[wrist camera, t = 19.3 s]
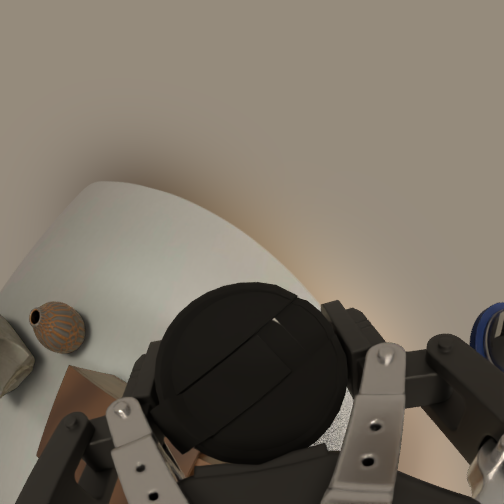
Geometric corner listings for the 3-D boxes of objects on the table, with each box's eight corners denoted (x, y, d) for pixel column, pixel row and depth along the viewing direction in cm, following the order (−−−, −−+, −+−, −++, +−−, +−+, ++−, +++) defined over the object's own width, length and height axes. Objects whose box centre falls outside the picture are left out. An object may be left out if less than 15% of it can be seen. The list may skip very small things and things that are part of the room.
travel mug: (222, 385, 27) (107, 357, 9) (275, 341, 28) (258, 234, 10) (266, 434, 24) (227, 512, 6) (320, 387, 26) (396, 369, 8)
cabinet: (223, 434, 30) (200, 447, 21) (183, 513, 25) (152, 543, 17) (114, 375, 34) (68, 364, 25) (83, 450, 29) (35, 455, 21)
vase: (71, 303, 39) (34, 281, 31) (100, 326, 37) (62, 307, 30) (51, 340, 37) (11, 324, 29) (78, 366, 35) (36, 355, 27)
